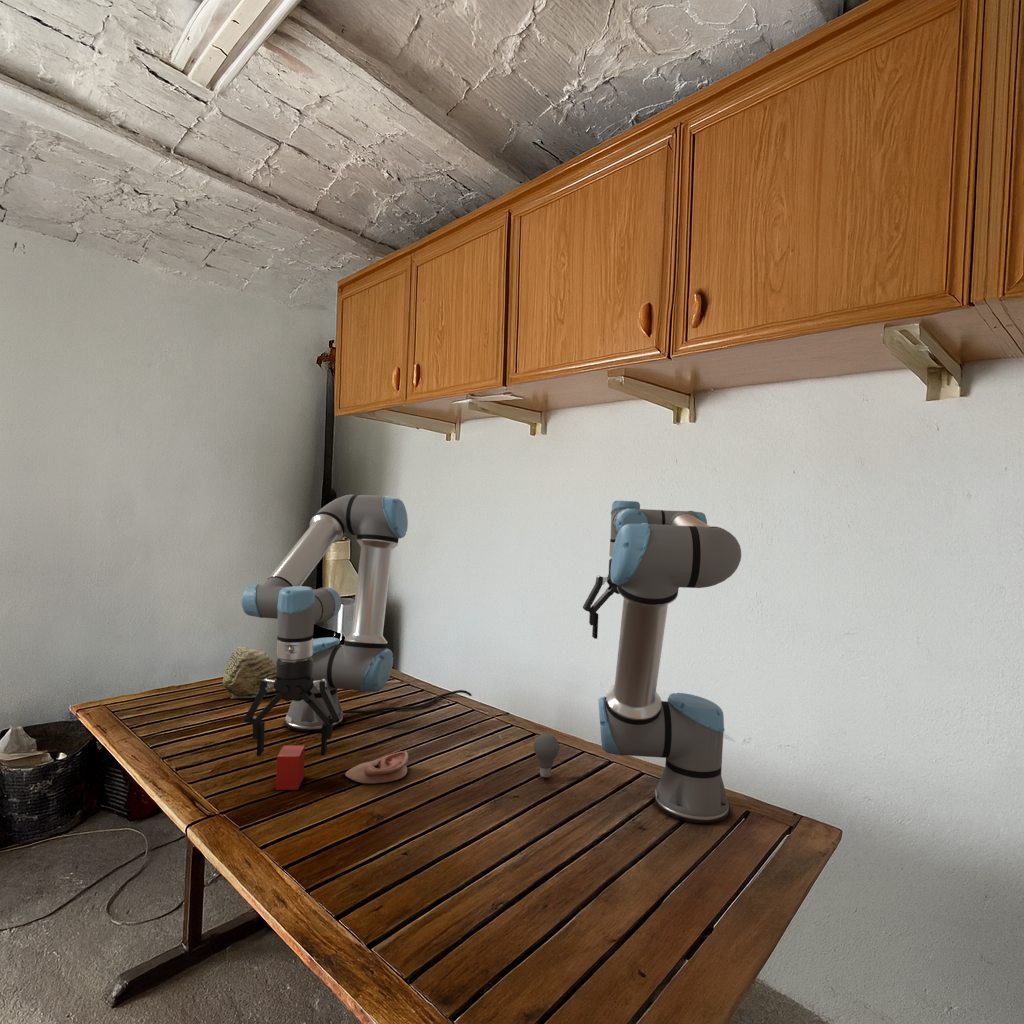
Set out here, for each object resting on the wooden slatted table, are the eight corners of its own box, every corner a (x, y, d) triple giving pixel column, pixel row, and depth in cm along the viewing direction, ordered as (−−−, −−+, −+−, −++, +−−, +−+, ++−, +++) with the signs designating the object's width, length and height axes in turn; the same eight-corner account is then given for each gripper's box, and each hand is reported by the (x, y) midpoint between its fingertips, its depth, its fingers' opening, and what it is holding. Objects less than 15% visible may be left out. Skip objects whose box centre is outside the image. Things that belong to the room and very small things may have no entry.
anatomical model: (339, 762, 141) (361, 743, 153) (338, 780, 141) (361, 759, 153) (395, 770, 139) (413, 750, 150) (394, 788, 139) (413, 766, 150)
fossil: (218, 695, 195) (220, 647, 195) (278, 685, 208) (279, 640, 207) (228, 703, 189) (230, 653, 188) (289, 692, 201) (290, 645, 201)
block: (275, 789, 136) (276, 756, 136) (282, 777, 142) (283, 745, 142) (297, 789, 136) (299, 756, 136) (303, 777, 142) (305, 745, 142)
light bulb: (531, 771, 151) (532, 729, 150) (555, 771, 151) (557, 729, 151) (534, 782, 145) (535, 738, 145) (559, 782, 145) (561, 739, 145)
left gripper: (229, 662, 134) (227, 760, 135) (350, 663, 136) (347, 760, 137) (241, 652, 141) (239, 746, 142) (355, 653, 144) (352, 745, 145)
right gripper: (580, 558, 163) (576, 640, 164) (673, 561, 166) (669, 642, 166) (574, 555, 171) (570, 634, 171) (664, 558, 173) (660, 636, 174)
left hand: (292, 753), depth 140 cm, fingers open, 13 cm apart
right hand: (619, 638), depth 169 cm, fingers open, 13 cm apart
